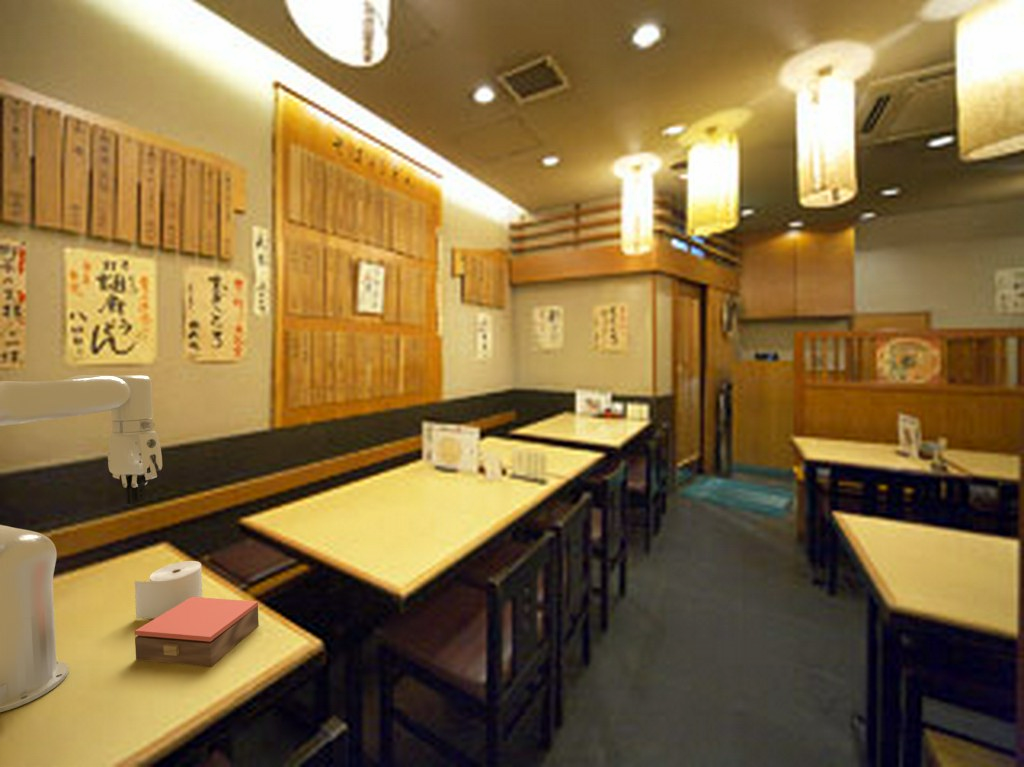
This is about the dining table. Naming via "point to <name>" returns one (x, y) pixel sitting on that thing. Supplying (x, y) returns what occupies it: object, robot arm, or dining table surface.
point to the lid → (197, 619)
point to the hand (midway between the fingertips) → (135, 502)
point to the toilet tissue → (168, 588)
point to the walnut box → (195, 645)
